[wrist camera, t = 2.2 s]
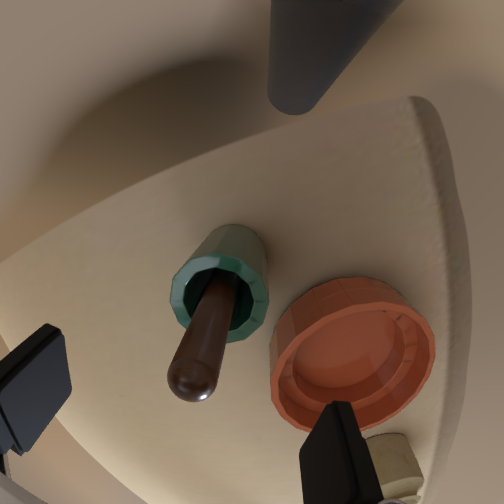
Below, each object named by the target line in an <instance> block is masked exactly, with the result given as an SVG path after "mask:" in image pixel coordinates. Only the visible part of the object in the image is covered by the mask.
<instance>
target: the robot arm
mask: <svg viewBox="0 0 504 504" xmlns="http://www.w3.org/2000/svg"><path fill="white" fill-rule="evenodd" d="M71 391H72V386H71V380H70V374H69V368H68V362H67V354H66V347H65V338H64V335H63V334H62V332H61V330H60V329H59V328H57V327H55V326H52V325H50V324H48V323H46V324H44V325H43V326H42V327H40V328H39V329H38V330H37V331H35V332H34V333H33V334H32V335H31V336H29V337H28V338H27V339H26V340H24V341H23V342H22V343H21V344H20V345H18V346H17V347H16V348H15V349H14V350H13V351H11V352H10V353H9V354H8V355H7V356H6V357H4V358H3V359H2V360H1V361H0V504H47V503H46V502H44V501H42V500H41V499H39V498H38V497H36V496H34V495H33V494H31V493H30V492H28V491H27V490H25V489H24V488H22V487H20V486H19V485H18V484H16V483H15V482H14V481H12V479H11V474H10V469H9V463H8V457H7V451H8V450H9V449H11V450H13V451H14V452H15V453H17V454H18V455H20V456H22V454H23V453H24V452H28V451H29V450H30V449H31V448H32V446H33V445H34V443H35V442H36V440H37V439H38V438H39V436H40V435H41V433H42V432H43V431H44V429H45V428H46V427H47V425H48V424H49V422H50V421H51V420H52V418H53V417H54V416H55V414H56V413H57V412H58V410H59V409H60V408H61V406H62V405H63V404H64V402H65V401H66V400H67V399H68V397H69V396H70V394H71ZM299 461H300V471H301V481H302V491H303V502H304V504H407V503H405V502H403V501H402V500H399V499H396V498H389V499H384V496H383V493H382V490H381V486H380V483H379V480H378V477H377V473H376V470H375V467H374V464H373V461H372V458H371V455H370V451H369V448H368V445H367V442H366V440H365V439H364V438H363V437H362V435H361V432H360V429H359V426H358V423H357V420H356V417H355V414H354V411H353V408H352V405H351V403H350V402H348V401H336V400H334V401H332V402H331V404H327V405H326V406H325V408H324V410H323V411H322V413H321V415H320V417H319V418H318V420H317V422H316V424H315V425H314V427H313V429H312V431H311V432H310V434H309V436H308V437H307V439H306V441H305V442H304V444H303V445H302V447H301V449H300V452H299Z"/></svg>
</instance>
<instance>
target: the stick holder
mask: <svg viewBox="0 0 504 504" xmlns="http://www.w3.org/2000/svg"><path fill="white" fill-rule="evenodd" d="M216 268H220V269H224V270H229V271H233V272H235V273H236V274H237V275H238V276H240V280H239V285H238V290H237V294H236V299H235V303H234V308H233V313H232V317H231V322H230V326H229V331H228V336H227V340H226V343H231V342H236V341H240V340H244V339H246V338H247V337H248V336H250V335H251V334H252V333H253V332H254V331H255V330H256V329H258V328H259V327H260V326H261V325H262V324H263V322H264V318H265V315H266V311H267V308H268V305H269V285H268V261H267V254H266V250H265V246H264V244H263V241H262V240H261V238H260V237H259V236H258V235H257V234H256V233H255V232H254V231H253V230H251V229H249V228H247V227H245V226H242V225H237V224H229V225H224V226H221V227H219V228H217V229H215V230H213V231H212V232H211V233H210V234H209V236H208V237H207V238H206V239H205V240H204V241H203V242H202V243H201V245H200V246H199V247H198V248H197V249H196V250H195V252H194V253H193V254H192V255H191V256H190V258H189V259H188V260H187V261H186V262H185V264H184V265H183V266H182V267H181V268H180V270H179V271H178V272H177V273H176V274H175V276H174V278H173V280H172V287H171V294H170V304H171V306H172V308H173V311H174V313H175V315H176V318H177V320H178V322H179V323H180V324H181V325H182V326H183V327H184V328H186V329H187V327H188V325H189V323H190V321H191V319H192V317H193V315H194V313H195V310H196V308H197V306H198V304H199V302H200V300H201V298H202V296H203V294H204V292H205V289H206V287H207V285H208V283H209V281H210V279H211V277H212V275H213V273H214V271H215V269H216Z"/></svg>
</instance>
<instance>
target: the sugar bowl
mask: <svg viewBox="0 0 504 504" xmlns="http://www.w3.org/2000/svg"><path fill="white" fill-rule="evenodd" d="M366 442H367V445H368V448H369V451H370V455H371V458H372V461H373V464H374V467H375V470H376V473H377V477H378V480H379V483H380V486H381V490H382V493H383V496H384V499H389V498H396V499H399V500H402V501H403V502H405V503H407V504H417V503H418V502H419V501H420V499H421V496H418V495H417V492H418V491H419V490H420V489H421V487H422V486H423V484H424V477H423V474H422V472H421V469H420V467H419V464H418V462H417V460H416V458H415V455H414V453H413V451H412V449H411V447H410V445H409V443H408V441H407V439H406V438H405V437H404V436H403V435H401V434H396V433H388V434H382V435H378V436H374V437H371V438H368V439H366Z"/></svg>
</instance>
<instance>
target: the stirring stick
mask: <svg viewBox="0 0 504 504" xmlns="http://www.w3.org/2000/svg"><path fill="white" fill-rule="evenodd" d="M239 280H240V276H238V275H237V274H236V273H235V272H233V271H229V270H224V269H220V268H216V269H215V271H214V273H213V275H212V277H211V279H210V281H209V283H208V285H207V287H206V289H205V292H204V294H203V296H202V298H201V300H200V302H199V304H198V306H197V308H196V310H195V313H194V315H193V317H192V319H191V321H190V323H189V325H188V327H187V330H186V332H185V334H184V336H183V338H182V340H181V343H180V345H179V347H178V349H177V351H176V353H175V356H174V358H173V360H172V362H171V364H170V367H169V369H168V373H167V381H168V384H169V387H170V389H171V391H172V392H173V393H174V394H175V395H176V396H177V397H178V398H180V399H182V400H184V401H188V402H199V401H203V400H205V399H207V398H208V397H209V396H211V394H212V393H213V392H214V391H215V388H216V386H217V383H218V378H219V373H220V368H221V364H222V359H223V354H224V350H225V345H226V340H227V336H228V331H229V326H230V322H231V317H232V313H233V308H234V303H235V299H236V294H237V290H238V285H239Z"/></svg>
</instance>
